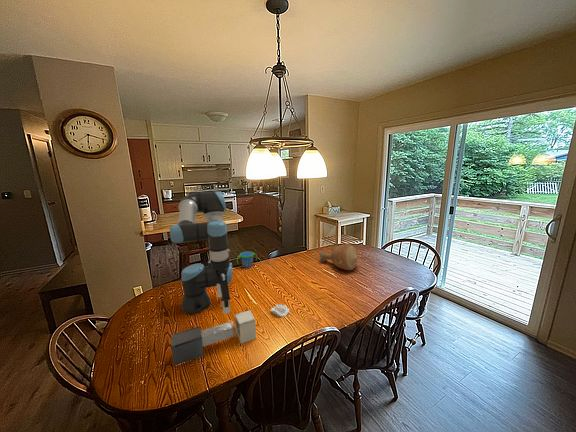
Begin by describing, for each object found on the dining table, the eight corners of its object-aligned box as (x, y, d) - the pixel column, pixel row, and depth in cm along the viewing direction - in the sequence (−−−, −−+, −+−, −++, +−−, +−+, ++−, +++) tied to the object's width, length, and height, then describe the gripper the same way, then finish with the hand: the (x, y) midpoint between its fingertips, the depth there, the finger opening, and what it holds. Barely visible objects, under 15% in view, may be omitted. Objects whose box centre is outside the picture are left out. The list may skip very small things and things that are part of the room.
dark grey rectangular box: (174, 367, 92) (171, 346, 89) (174, 354, 98) (171, 334, 96) (203, 356, 96) (201, 336, 94) (201, 345, 102) (199, 326, 100)
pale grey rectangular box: (178, 355, 93) (177, 345, 91) (178, 347, 97) (176, 336, 96) (236, 336, 103) (235, 326, 101) (233, 329, 107) (232, 319, 106)
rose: (270, 310, 119) (270, 300, 128) (270, 318, 120) (270, 307, 129) (289, 310, 119) (288, 299, 129) (289, 317, 120) (288, 306, 130)
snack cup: (238, 270, 174) (237, 257, 171) (236, 264, 183) (235, 252, 181) (258, 267, 178) (258, 254, 176) (256, 261, 188) (255, 250, 186)
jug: (349, 262, 156) (311, 257, 175) (357, 277, 167) (321, 271, 186) (357, 239, 166) (321, 236, 185) (364, 254, 177) (329, 250, 196)
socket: (241, 343, 103) (239, 324, 101) (236, 333, 109) (235, 314, 107) (256, 338, 106) (255, 319, 104) (250, 328, 113) (249, 310, 110)
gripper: (235, 268, 87) (239, 318, 92) (223, 247, 109) (226, 288, 114) (214, 272, 84) (219, 323, 89) (206, 250, 106) (210, 292, 111)
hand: (223, 304), depth 101 cm, fingers open, 13 cm apart
